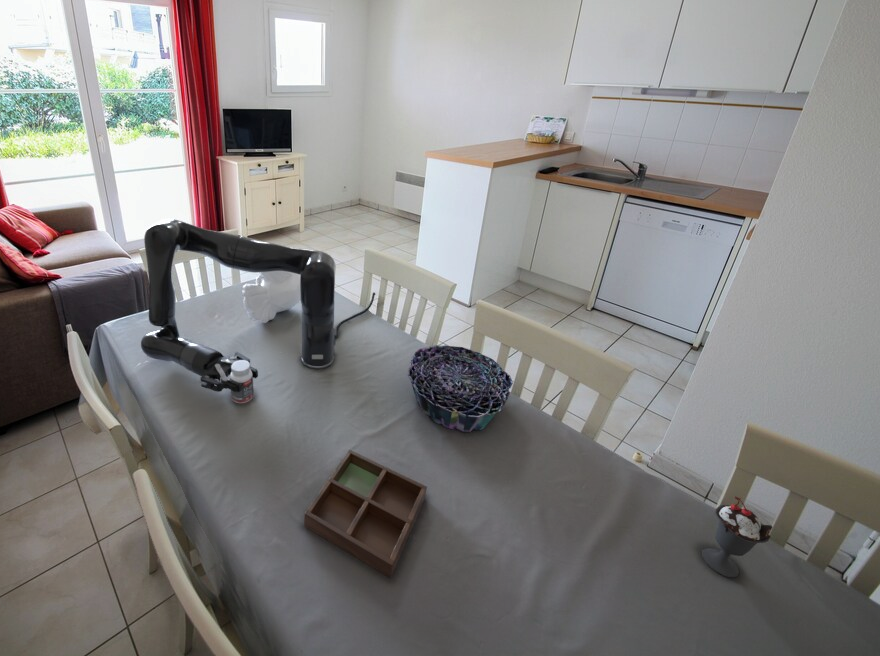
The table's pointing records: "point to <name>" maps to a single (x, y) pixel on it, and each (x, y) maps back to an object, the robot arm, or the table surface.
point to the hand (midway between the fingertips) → (248, 381)
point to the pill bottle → (242, 381)
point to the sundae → (734, 537)
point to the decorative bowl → (458, 386)
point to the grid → (367, 511)
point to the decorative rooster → (271, 294)
